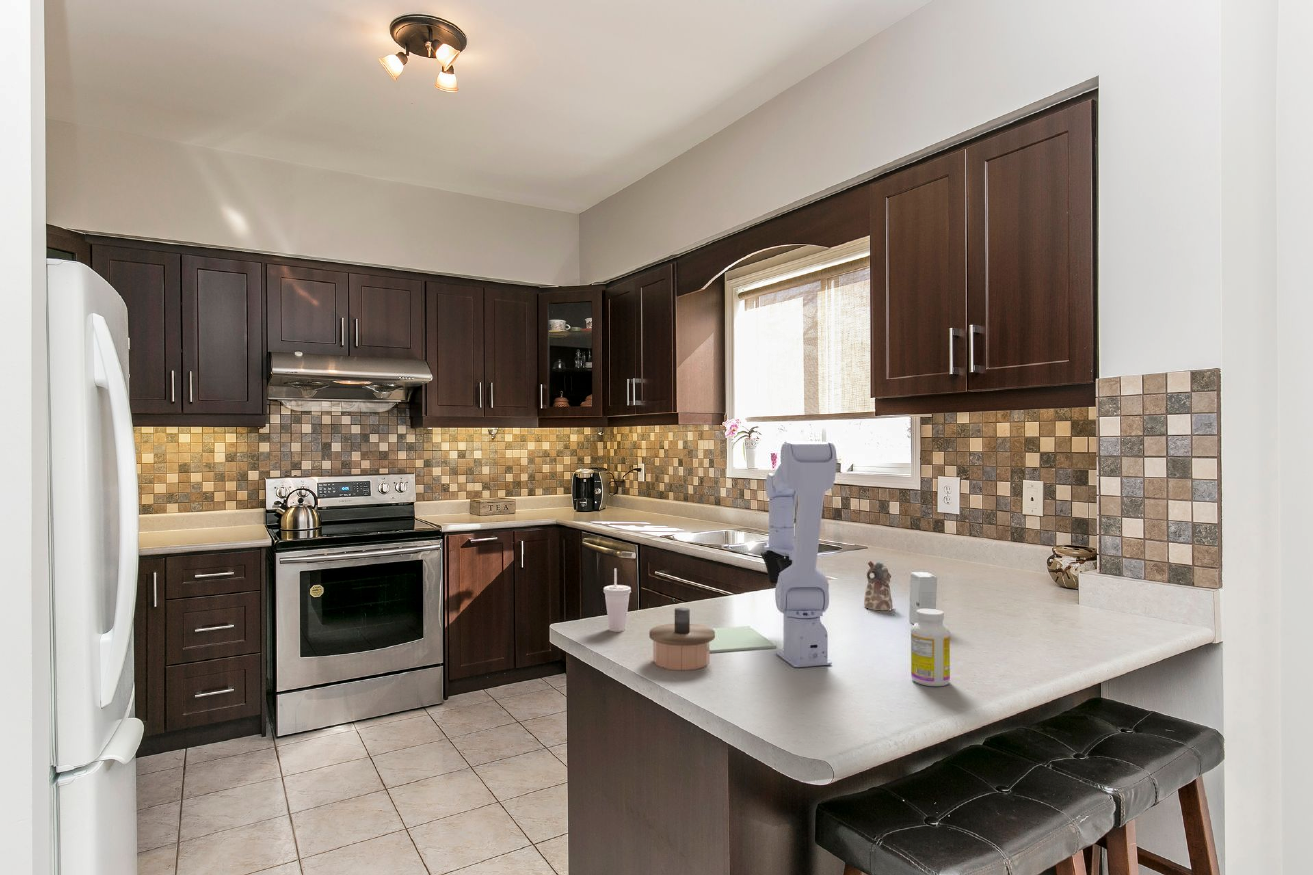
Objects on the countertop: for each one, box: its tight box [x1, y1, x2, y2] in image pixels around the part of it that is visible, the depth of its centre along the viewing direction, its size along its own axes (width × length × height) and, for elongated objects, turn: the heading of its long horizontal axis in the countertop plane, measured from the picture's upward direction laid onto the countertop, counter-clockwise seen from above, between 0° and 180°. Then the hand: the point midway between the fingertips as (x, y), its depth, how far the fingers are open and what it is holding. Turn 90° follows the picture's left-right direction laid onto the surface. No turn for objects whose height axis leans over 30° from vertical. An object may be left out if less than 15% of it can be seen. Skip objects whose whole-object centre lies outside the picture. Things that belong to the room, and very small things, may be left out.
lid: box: [648, 607, 715, 646], centre depth 145 cm, size 13×13×5 cm
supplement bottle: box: [910, 608, 951, 687], centre depth 133 cm, size 7×7×13 cm
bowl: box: [652, 640, 710, 671], centre depth 145 cm, size 11×11×5 cm
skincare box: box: [908, 571, 938, 625], centre depth 172 cm, size 6×4×12 cm
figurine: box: [863, 560, 894, 611], centre depth 189 cm, size 7×7×12 cm
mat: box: [709, 625, 777, 654], centre depth 160 cm, size 16×16×1 cm
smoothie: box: [603, 568, 632, 633], centre depth 168 cm, size 6×6×14 cm
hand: (781, 586), depth 166 cm, fingers open, 7 cm apart
